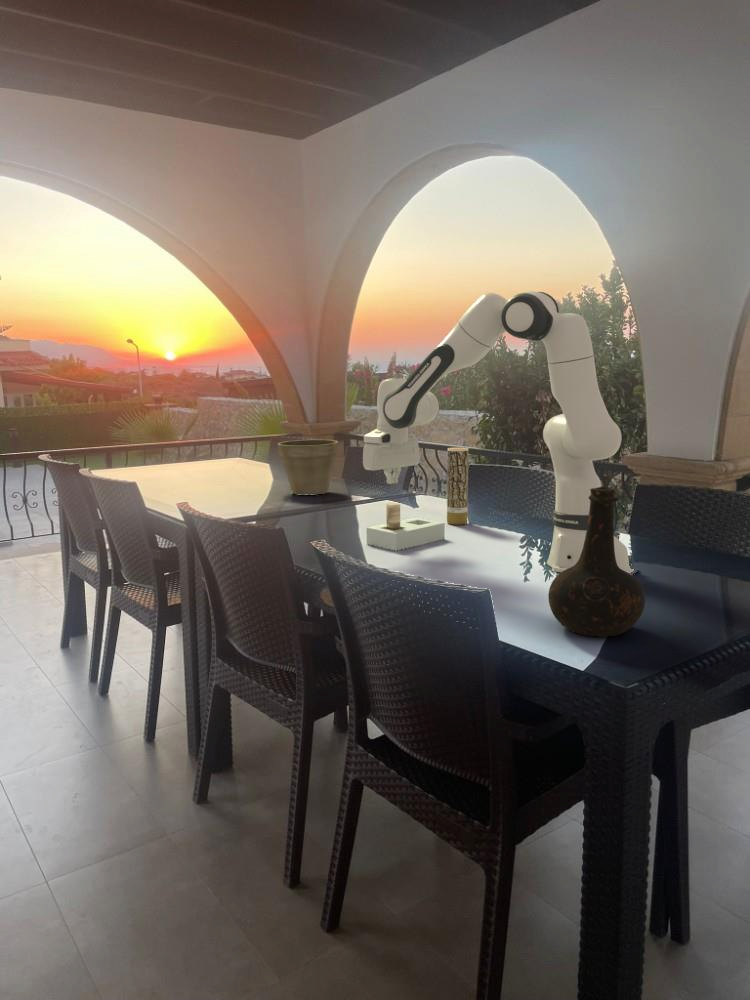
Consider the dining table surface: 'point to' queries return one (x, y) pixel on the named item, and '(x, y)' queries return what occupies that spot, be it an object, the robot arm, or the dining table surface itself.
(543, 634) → the dining table surface
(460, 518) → the bark-textured cylinder
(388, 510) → the peg
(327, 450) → the plant pot
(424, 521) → the board
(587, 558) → the glass bottle
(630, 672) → the dining table surface
